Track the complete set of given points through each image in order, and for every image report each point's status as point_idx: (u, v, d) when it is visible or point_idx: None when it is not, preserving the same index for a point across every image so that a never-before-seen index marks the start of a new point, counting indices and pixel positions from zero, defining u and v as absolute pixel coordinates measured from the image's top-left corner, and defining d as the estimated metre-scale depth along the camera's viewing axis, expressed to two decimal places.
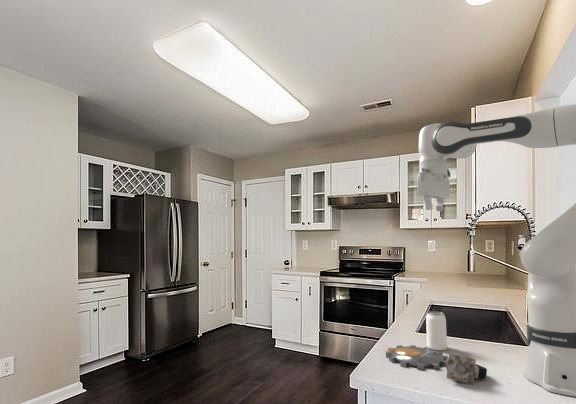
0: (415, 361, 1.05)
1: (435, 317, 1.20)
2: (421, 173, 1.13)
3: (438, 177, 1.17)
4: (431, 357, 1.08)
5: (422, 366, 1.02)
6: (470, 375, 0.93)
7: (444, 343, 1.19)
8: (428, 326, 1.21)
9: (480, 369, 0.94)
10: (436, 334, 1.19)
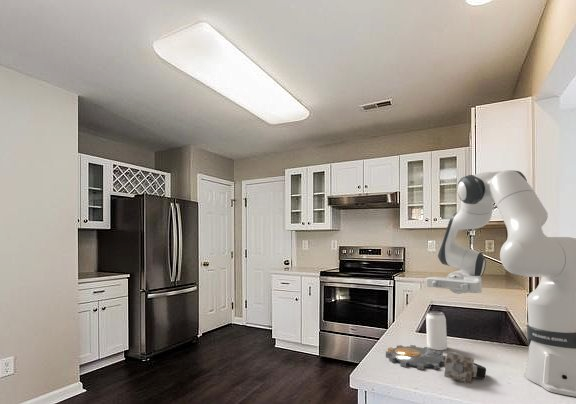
0: (415, 361, 1.05)
1: (435, 317, 1.20)
2: None
3: (450, 276, 1.42)
4: (431, 357, 1.08)
5: (422, 366, 1.02)
6: (468, 374, 0.93)
7: (444, 343, 1.19)
8: (428, 326, 1.21)
9: (479, 368, 0.94)
10: (436, 334, 1.19)
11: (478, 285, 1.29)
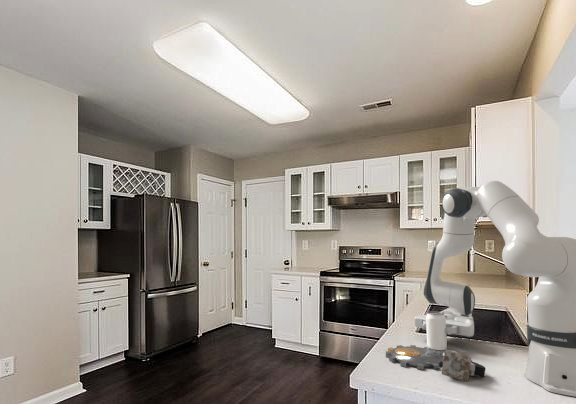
0: (415, 361, 1.05)
1: (435, 317, 1.20)
2: None
3: None
4: (431, 357, 1.08)
5: (422, 366, 1.02)
6: (465, 372, 0.94)
7: (444, 343, 1.19)
8: (428, 326, 1.21)
9: (477, 367, 0.95)
10: (436, 334, 1.19)
11: (469, 329, 1.19)
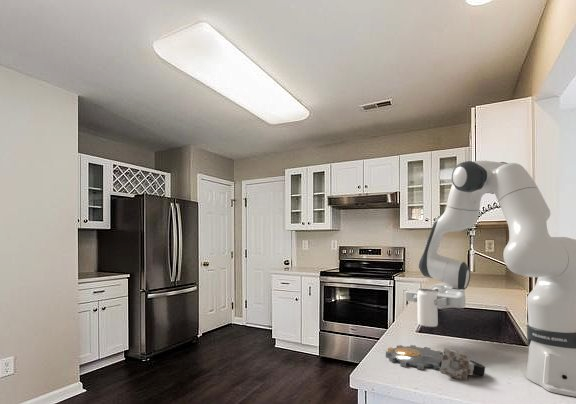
0: (415, 361, 1.05)
1: (427, 293, 1.19)
2: None
3: (432, 289, 1.29)
4: (431, 357, 1.08)
5: (422, 366, 1.02)
6: (464, 372, 0.95)
7: (435, 319, 1.17)
8: (419, 302, 1.20)
9: (476, 367, 0.96)
10: (428, 310, 1.17)
11: (460, 300, 1.17)
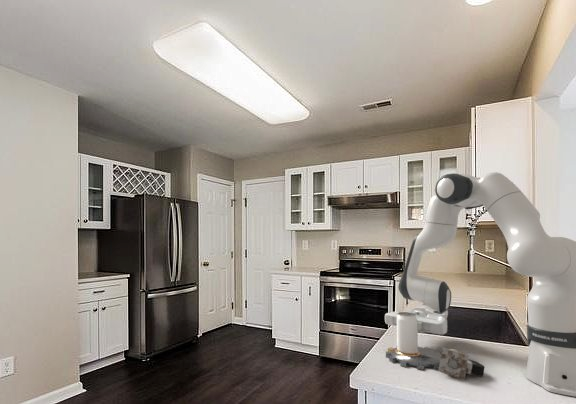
0: (415, 361, 1.05)
1: (408, 318, 1.12)
2: None
3: (413, 312, 1.23)
4: (431, 357, 1.08)
5: (422, 366, 1.02)
6: (462, 370, 0.96)
7: (416, 346, 1.12)
8: (400, 328, 1.13)
9: (474, 366, 0.96)
10: (409, 336, 1.11)
11: (441, 327, 1.11)
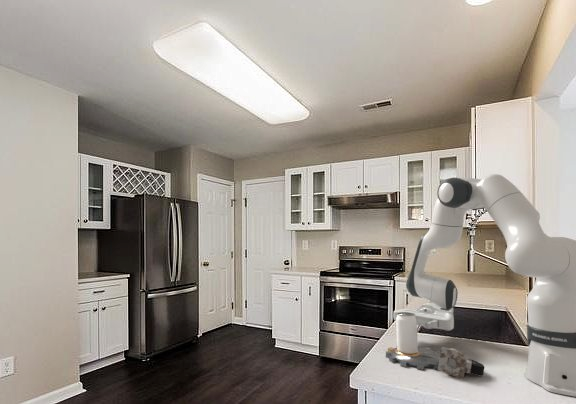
0: (415, 361, 1.05)
1: (407, 318, 1.12)
2: None
3: (420, 309, 1.28)
4: (431, 357, 1.08)
5: (422, 366, 1.02)
6: (461, 370, 0.96)
7: (416, 346, 1.12)
8: (399, 328, 1.13)
9: (473, 365, 0.96)
10: (409, 336, 1.11)
11: (448, 323, 1.16)
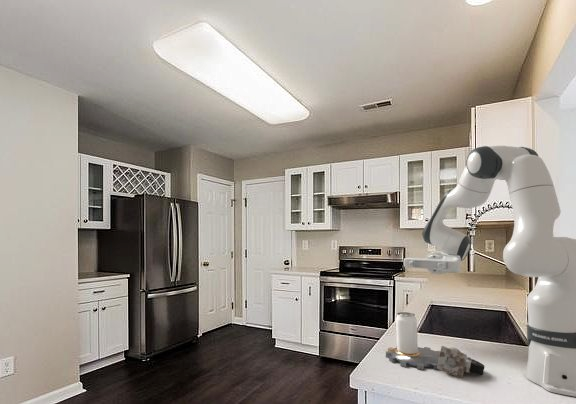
0: (415, 361, 1.05)
1: (407, 318, 1.12)
2: None
3: None
4: (431, 357, 1.08)
5: (422, 366, 1.02)
6: (460, 369, 0.97)
7: (416, 346, 1.12)
8: (399, 329, 1.13)
9: (473, 365, 0.97)
10: (409, 336, 1.11)
11: (456, 263, 1.23)
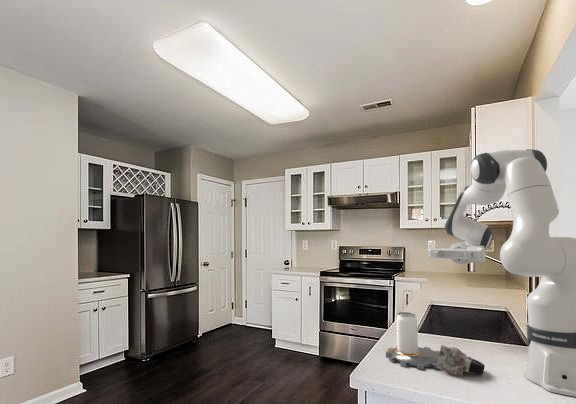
0: (415, 361, 1.05)
1: (408, 318, 1.12)
2: None
3: (454, 247, 1.41)
4: (431, 357, 1.08)
5: (422, 366, 1.02)
6: (459, 368, 0.97)
7: (416, 346, 1.12)
8: (400, 329, 1.13)
9: (472, 364, 0.97)
10: (409, 336, 1.11)
11: (482, 253, 1.28)
